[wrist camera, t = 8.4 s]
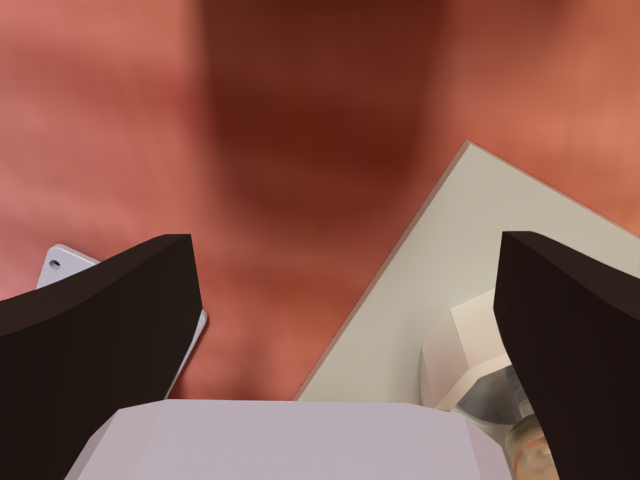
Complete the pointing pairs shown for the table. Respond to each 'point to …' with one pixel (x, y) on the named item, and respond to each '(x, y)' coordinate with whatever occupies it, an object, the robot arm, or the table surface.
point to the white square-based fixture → (453, 290)
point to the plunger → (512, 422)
